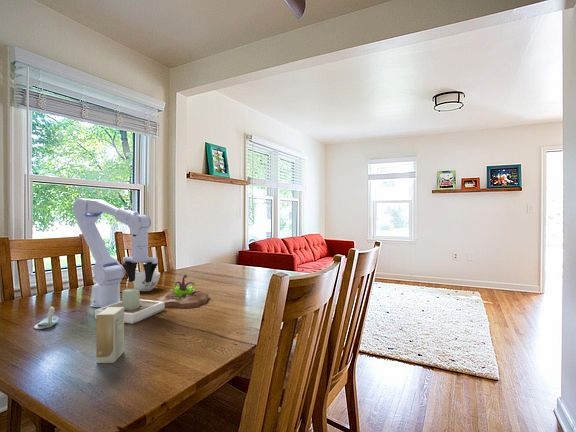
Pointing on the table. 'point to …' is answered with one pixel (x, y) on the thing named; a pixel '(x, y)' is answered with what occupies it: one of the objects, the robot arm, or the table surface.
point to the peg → (131, 299)
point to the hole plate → (142, 306)
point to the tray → (140, 314)
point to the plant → (183, 296)
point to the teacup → (141, 281)
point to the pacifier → (48, 320)
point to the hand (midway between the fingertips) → (140, 281)
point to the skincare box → (109, 334)
